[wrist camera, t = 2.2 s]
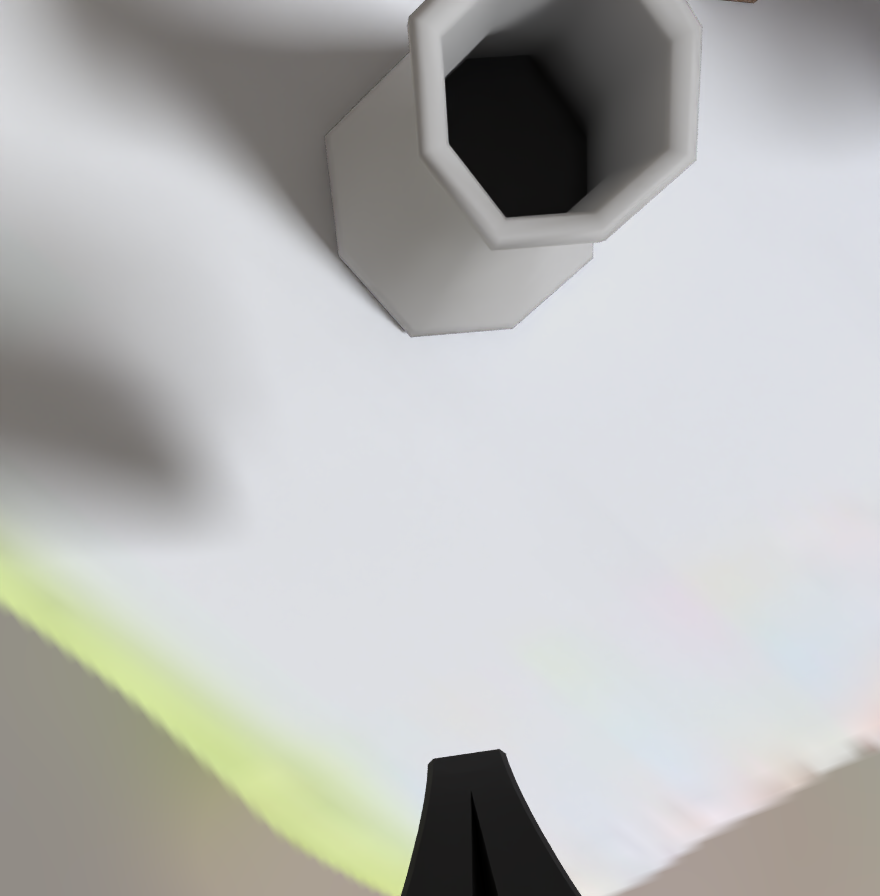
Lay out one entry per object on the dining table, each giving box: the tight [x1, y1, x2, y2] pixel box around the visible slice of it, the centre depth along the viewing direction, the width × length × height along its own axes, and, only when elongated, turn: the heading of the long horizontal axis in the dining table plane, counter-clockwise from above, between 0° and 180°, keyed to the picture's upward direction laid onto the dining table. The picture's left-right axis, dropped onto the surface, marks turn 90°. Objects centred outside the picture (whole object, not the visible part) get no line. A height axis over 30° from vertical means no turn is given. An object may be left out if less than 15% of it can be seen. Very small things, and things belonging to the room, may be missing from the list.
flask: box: [324, 0, 703, 337], centre depth 11 cm, size 7×7×10 cm
